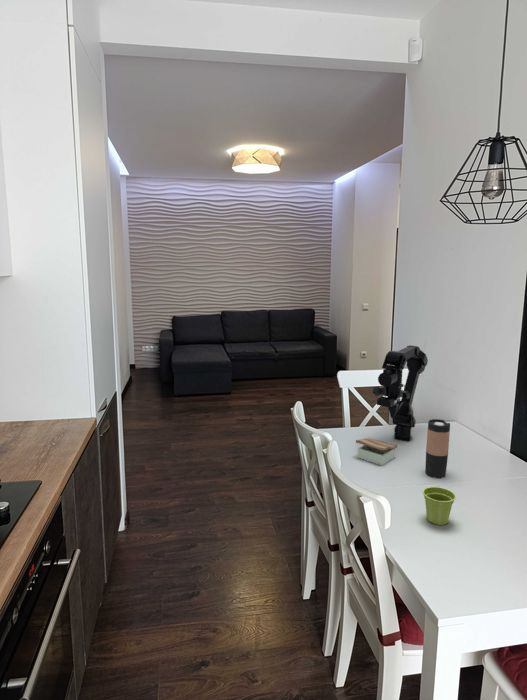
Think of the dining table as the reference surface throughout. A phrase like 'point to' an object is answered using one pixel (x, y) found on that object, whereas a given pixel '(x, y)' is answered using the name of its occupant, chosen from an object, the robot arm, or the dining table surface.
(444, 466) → the travel mug
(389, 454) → the pale green open box
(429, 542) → the dining table surface
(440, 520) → the plant pot
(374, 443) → the lid
